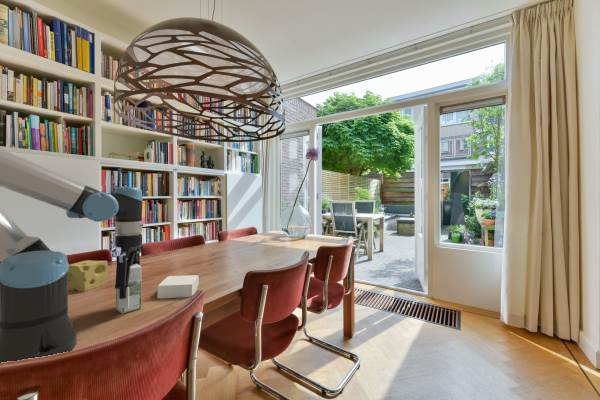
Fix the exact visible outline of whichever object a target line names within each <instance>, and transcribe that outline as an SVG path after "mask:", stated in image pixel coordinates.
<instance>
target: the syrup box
mask: <svg viewBox="0 0 600 400" xmlns="http://www.w3.org/2000/svg"><path fill="white" fill-rule="evenodd" d="M142 270H143V267H142V266H141V264H140V265H138V264H133V265H132V266H131V267H130V274H129V281H128V287H129V308H122V309H119V289H115V291H116V293H115V295H116V297H115V309H116V311H118V312H119V313H120V314H122V315H124V314H126V313H127V314H128V313H131V312H134V311H137V310H140V309H142V281H143V280H142V279H143V278H142V277H143V276H142V275H143V273H142V272H143V271H142Z"/></svg>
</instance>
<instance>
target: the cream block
mask: <svg viewBox="0 0 600 400" xmlns="http://www.w3.org/2000/svg"><path fill="white" fill-rule="evenodd" d="M199 278H200V277H199V274H198V275H197V274H194V275H193V274H191V275H190V274H189V275H169V276H166V278H164V279H163V280H162V281H161V282H160V283H159V284H158V285H157V299H173V298H174V299H175V298H191V296H192V295H193V296H194V294H195V293H196V291H197V289H198V288H199V284H200V283H199ZM197 287H198V288H197ZM193 296H192V297H193Z"/></svg>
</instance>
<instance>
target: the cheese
mask: <svg viewBox="0 0 600 400" xmlns="http://www.w3.org/2000/svg"><path fill="white" fill-rule="evenodd" d="M108 263H109V262H108V261H107V260H90V259H87V260H82V261H78V262H74V263H70V264H69V269H68V291H77V292H82V293H85V292H89V291H91V290H93V289H97V288H99V287H102V286H106V284H107V280H108V274H109V265H108Z"/></svg>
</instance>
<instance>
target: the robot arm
mask: <svg viewBox="0 0 600 400" xmlns="http://www.w3.org/2000/svg"><path fill="white" fill-rule="evenodd" d="M0 187H2V188H4V189H6V190H9V191H12V192H15V193H18V194H21V195H23V196H26V197H28V198H32V199H35V200H37V201H40V202H43V203H45V204H48V205H51V206H53V207H57V208H59V209H61V210H65V211H66V216H67V217H68V218H69V219H84V218H85V219H88V220H91V221H94V222H105V221H109V220H111V219H112V218H113V217H115V218H114V219H115V221H114V227H115V228H114V229H115V230H114V234H116V235H115V239H114V241H115V243H114V245H115V247H116V248H121V250H120V252H119V255H116V257H115V259H116V267H115V269H116V270H115V271H116V272H115V286H114V289H115V290H116V289H119V309H122V308H129V287H128V281H129V274H130V267H131V266H132V265H133V264H138V265H140V266H141V258H140V254H141V249H140V247H139V246H141V245H143V234H142V232H143V227H144V226H145V224H144V223H143V203H144V201H143V190H142V189H141V188H140V187H135V186H134V187H130V186H129V187H127V186H123V187H122V186H119V187H118V186H117V187H116V188H115V191H114V192H104V191H103V192H102V191H101V190H98V189H95V188H93V187H90V186H88V185H86V184H84V183H82V182H79V181H78V180H77V181H76V180H75V179H73V178H72V179H71V178H70V177H67V176H65V175H64V174H63V175H62V174H60V173H59V172H56V171H54V170H51V169H49V168H46V167H44V166H42V165H39V164H37V163H35V162H32V161H30V160H28V159H26V158H23V157H21V156H19V155H16V154H14V153H12V152H9V151H6V150H5V149H3V148H0ZM10 217H11V216H9V215H8V214H7V213H6V212H5V211H4V210H3V209H2V208H1V207H0V363H1V362H7V361H17V360H22V359H28V358H35V357H42V356H48V355H53V354H57V353H63V352H67V351H69V352H71V351H72V350H73V349H74V348H75V347H76V346H77V343H78V339H77V337H78V333H77V331H76V329H75V327H74V324H73V322H72V320H71V318H70V315H69V311H68V309H69V308H68V306H69V302H68V301H69V300H68V299H69V298H68V297H69V296H68V293H69V290H68V269H69V265H70V264H69V260H68V257H67V255H66V254H65V253H63V252H60V251H54V250H51V249H50V248H49V247H48V245H46V244H45V242H43V240H42V239H41V238H40V237H38V236H30V235H27V234H26V233H25V232H24V231H23V230H22V229H21V228H20V227H19V226H18V225H17V224H16V222H15V221H14V220H13V219H12V218H10Z"/></svg>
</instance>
